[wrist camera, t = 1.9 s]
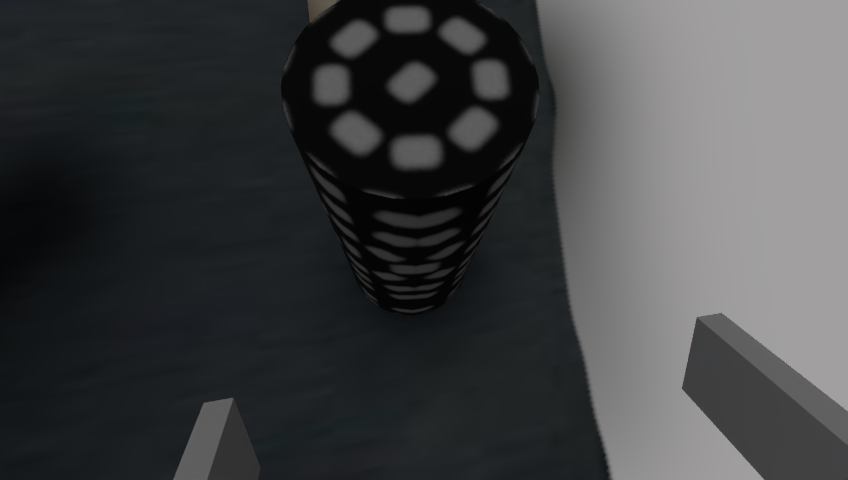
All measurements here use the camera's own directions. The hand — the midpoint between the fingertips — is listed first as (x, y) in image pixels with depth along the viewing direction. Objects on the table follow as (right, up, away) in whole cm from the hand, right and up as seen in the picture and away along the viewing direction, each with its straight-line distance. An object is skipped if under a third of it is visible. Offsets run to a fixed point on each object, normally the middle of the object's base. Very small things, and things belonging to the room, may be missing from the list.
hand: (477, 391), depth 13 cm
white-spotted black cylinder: (-3, +3, +21) cm, 21 cm away
